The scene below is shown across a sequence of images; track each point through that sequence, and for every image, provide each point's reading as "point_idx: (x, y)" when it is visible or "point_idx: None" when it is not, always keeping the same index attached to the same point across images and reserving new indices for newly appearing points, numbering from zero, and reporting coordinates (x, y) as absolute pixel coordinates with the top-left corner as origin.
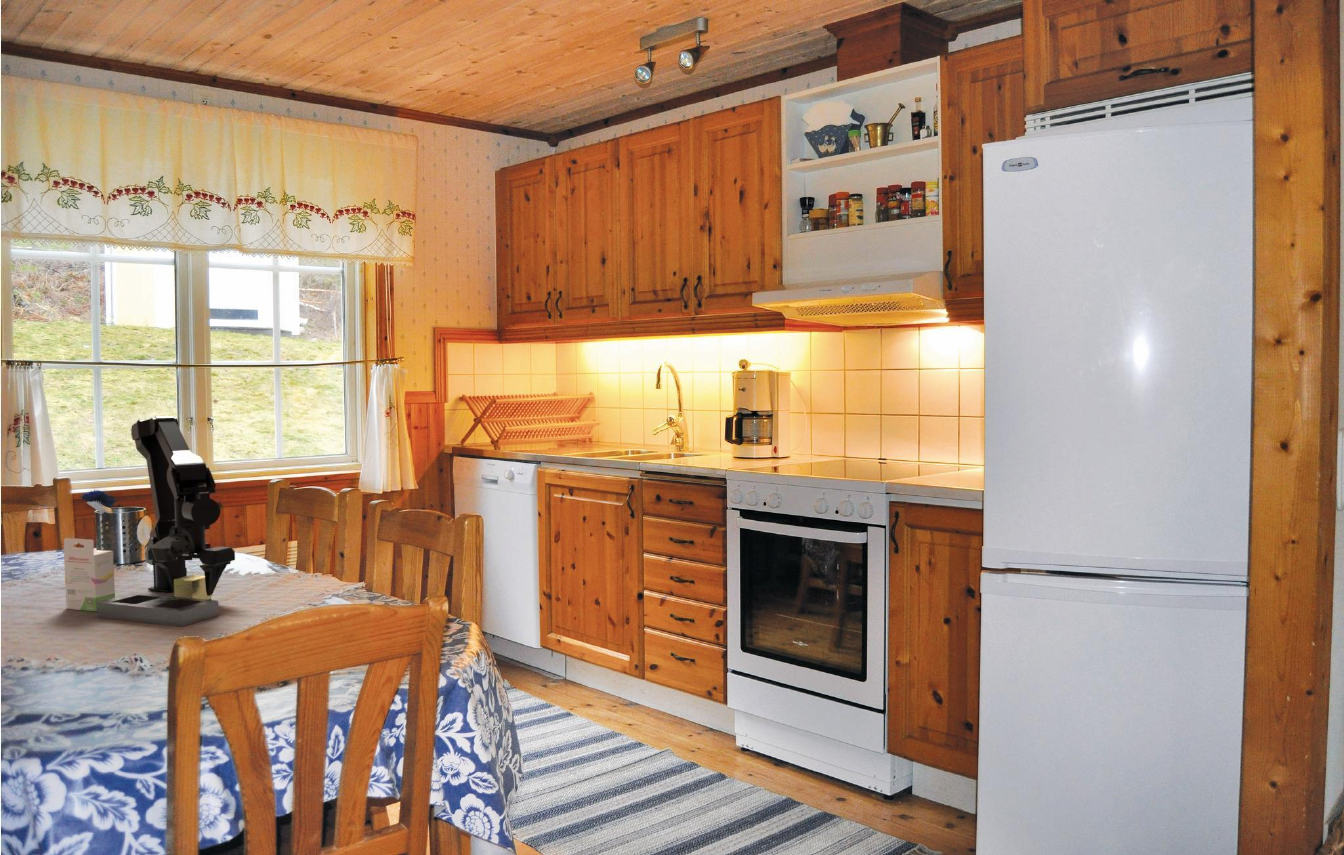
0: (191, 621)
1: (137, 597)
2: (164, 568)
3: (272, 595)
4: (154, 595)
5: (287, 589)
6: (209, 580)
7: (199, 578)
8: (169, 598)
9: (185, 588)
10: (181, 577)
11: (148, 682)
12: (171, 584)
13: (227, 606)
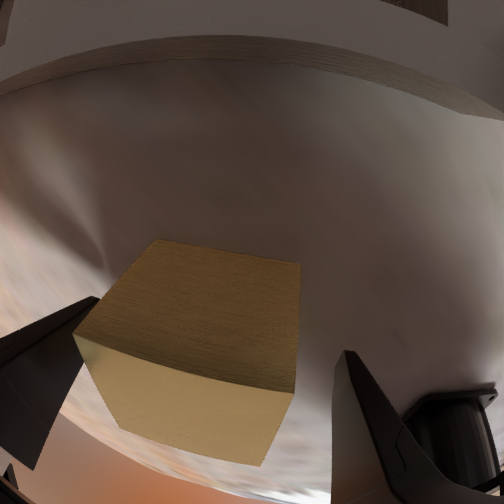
0: None
1: (436, 18)
2: (431, 484)
3: None
4: (252, 6)
5: (89, 406)
6: (14, 332)
7: (112, 396)
8: (51, 8)
9: (169, 307)
10: (273, 432)
11: None
12: (368, 385)
13: (18, 227)
